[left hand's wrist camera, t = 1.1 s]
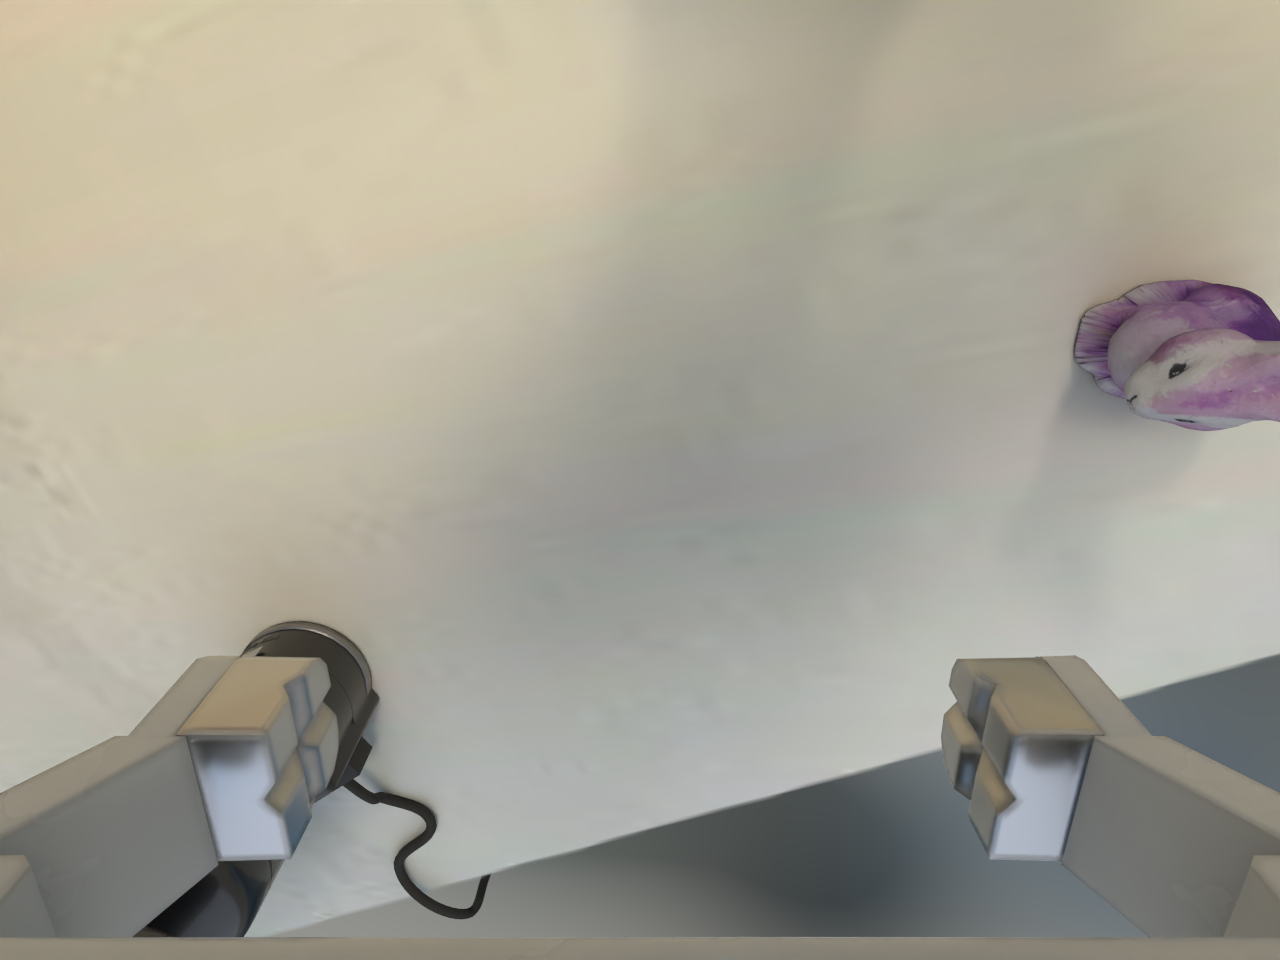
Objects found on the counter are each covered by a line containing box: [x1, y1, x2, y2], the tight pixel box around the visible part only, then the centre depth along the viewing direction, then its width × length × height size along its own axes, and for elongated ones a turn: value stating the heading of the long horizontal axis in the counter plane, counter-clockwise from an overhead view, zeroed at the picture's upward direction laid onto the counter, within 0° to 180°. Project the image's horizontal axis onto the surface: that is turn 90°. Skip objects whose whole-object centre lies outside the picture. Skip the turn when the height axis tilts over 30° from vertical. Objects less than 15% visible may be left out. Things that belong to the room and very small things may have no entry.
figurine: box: [1075, 280, 1280, 431], centre depth 44 cm, size 9×10×15 cm
